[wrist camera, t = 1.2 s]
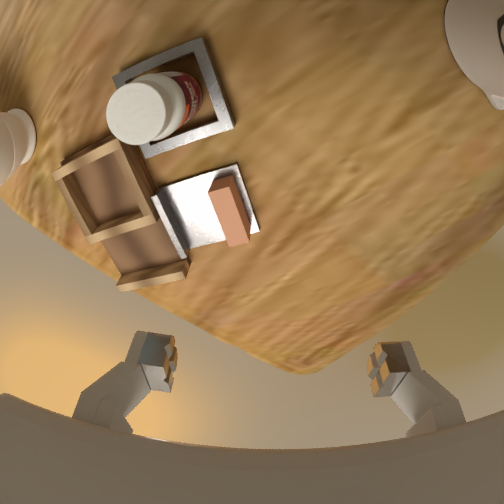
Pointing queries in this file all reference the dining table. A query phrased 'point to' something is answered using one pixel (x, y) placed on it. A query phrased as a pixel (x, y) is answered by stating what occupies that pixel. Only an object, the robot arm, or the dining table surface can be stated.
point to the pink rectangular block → (230, 210)
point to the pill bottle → (153, 106)
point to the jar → (15, 141)
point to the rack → (120, 212)
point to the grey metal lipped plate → (197, 209)
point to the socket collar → (212, 84)
